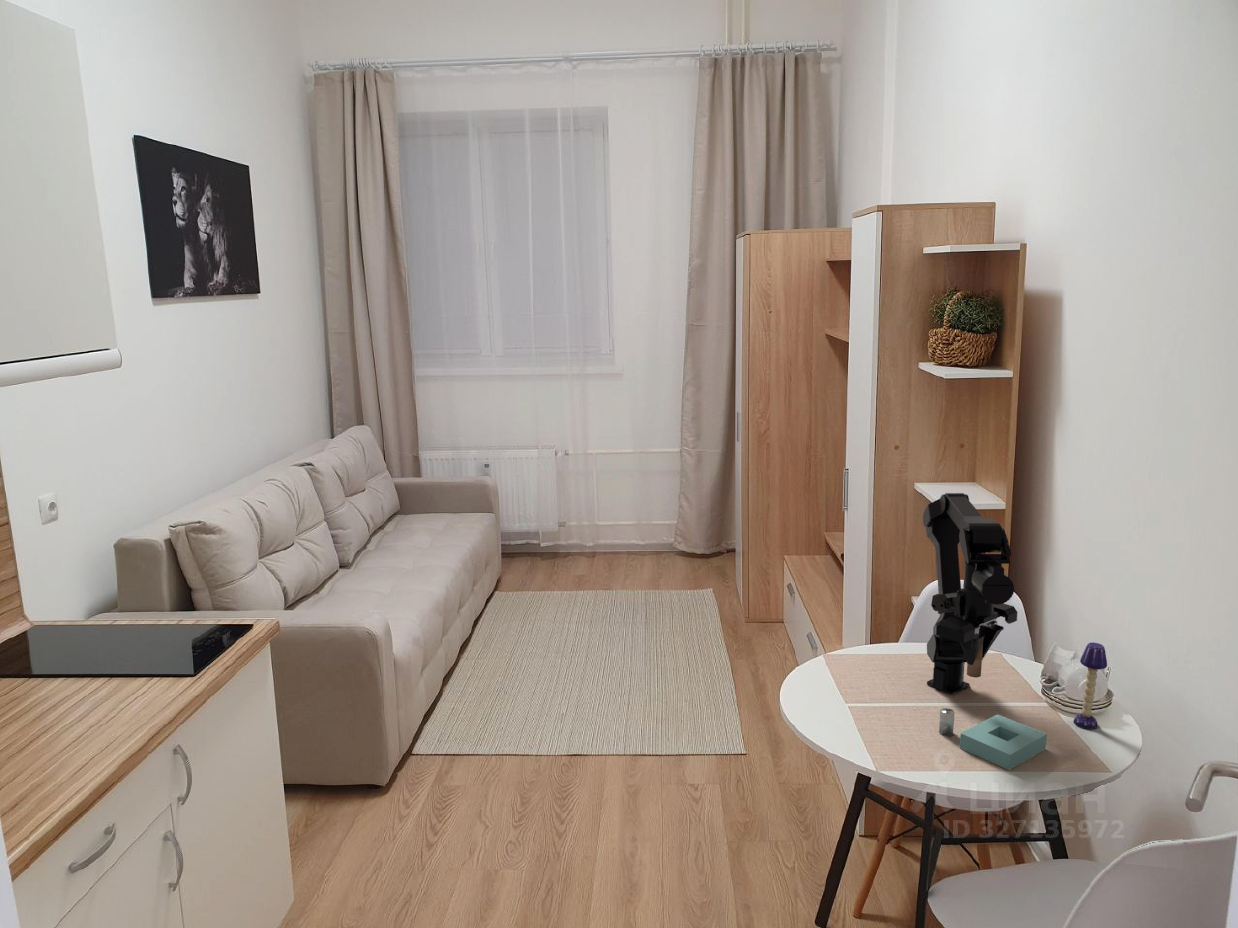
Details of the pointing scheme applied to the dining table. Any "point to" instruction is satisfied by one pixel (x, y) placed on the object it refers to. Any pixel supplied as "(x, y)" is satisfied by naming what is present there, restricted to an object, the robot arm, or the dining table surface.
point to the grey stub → (946, 722)
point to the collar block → (1003, 741)
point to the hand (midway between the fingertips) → (974, 662)
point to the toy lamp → (1090, 682)
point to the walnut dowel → (976, 665)
